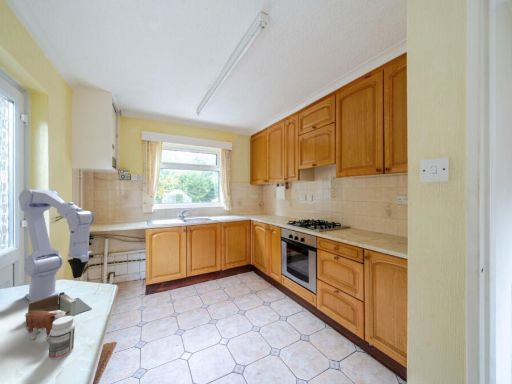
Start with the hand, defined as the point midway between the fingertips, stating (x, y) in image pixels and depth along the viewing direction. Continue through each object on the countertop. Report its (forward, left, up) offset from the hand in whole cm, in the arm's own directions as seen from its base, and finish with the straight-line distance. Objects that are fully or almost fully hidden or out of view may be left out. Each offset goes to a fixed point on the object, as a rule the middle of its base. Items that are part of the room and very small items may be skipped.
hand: (77, 277), depth 79 cm
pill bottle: (+30, -11, -10) cm, 33 cm away
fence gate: (+8, -5, -9) cm, 13 cm away
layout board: (+4, -6, -9) cm, 12 cm away
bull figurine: (+19, -12, -10) cm, 24 cm away
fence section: (+3, -9, -9) cm, 13 cm away
